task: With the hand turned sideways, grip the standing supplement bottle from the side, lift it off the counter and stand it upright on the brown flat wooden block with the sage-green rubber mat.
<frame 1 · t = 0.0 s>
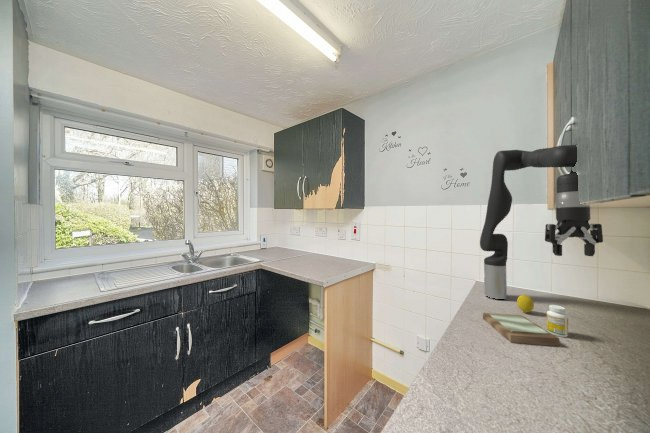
hand: (573, 255, 73), 29 cm above the worktop, tool pointing down, fingers open, 8 cm apart
lemon: (525, 313, 98), on the worktop
supplement bottle: (557, 334, 81), on the worktop
brown flat wooden block: (516, 330, 83), on the worktop
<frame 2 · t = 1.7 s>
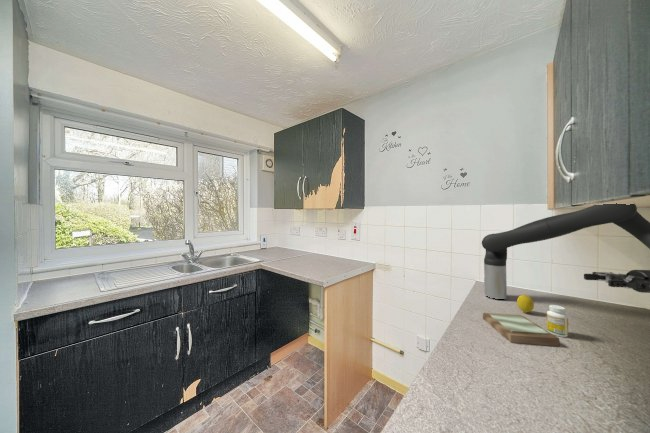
hand: (596, 279, 79), 20 cm above the worktop, tool horizontal, fingers open, 8 cm apart
nothing on the worktop moved.
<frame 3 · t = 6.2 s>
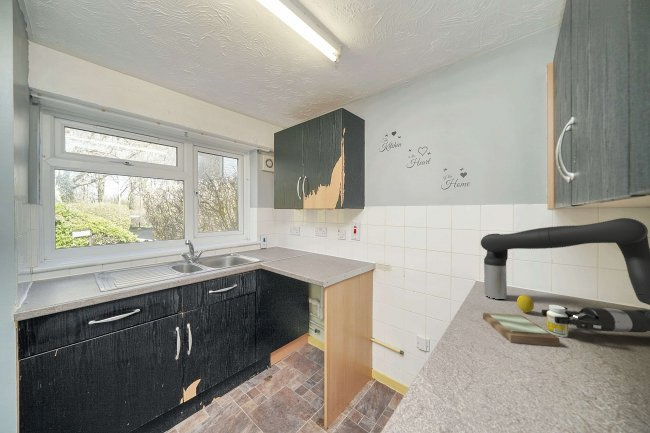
hand: (549, 316, 81), 6 cm above the worktop, tool horizontal, fingers closed on supplement bottle, 5 cm apart
supplement bottle: (557, 334, 81), on the worktop, touching gripper
everything else where it was.
when the fingers open (10 cm above the worktop, at t = 11.4 s): supplement bottle drops 1 cm, resting on brown flat wooden block.
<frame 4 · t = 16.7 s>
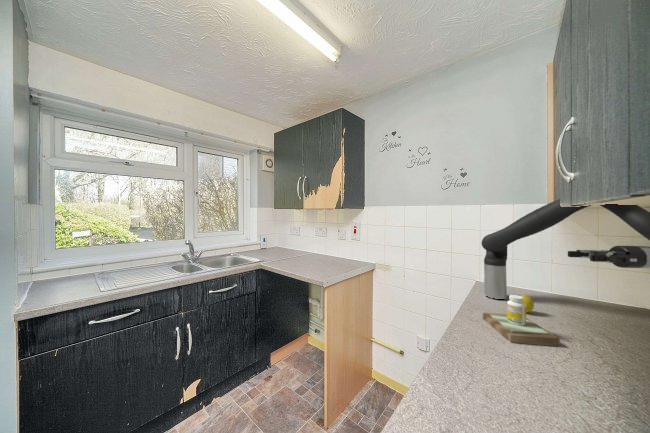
hand: (579, 256, 80), 28 cm above the worktop, tool horizontal, fingers open, 8 cm apart
supplement bottle: (516, 323, 83), point 3 cm above the worktop, touching brown flat wooden block
everything else where it was.
at the end: supplement bottle inside the target area on the brown flat wooden block (0.1 cm from its centre), point 2.8 cm above the brown flat wooden block's base; supplement bottle tilted 0°; the gripper is holding nothing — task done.
